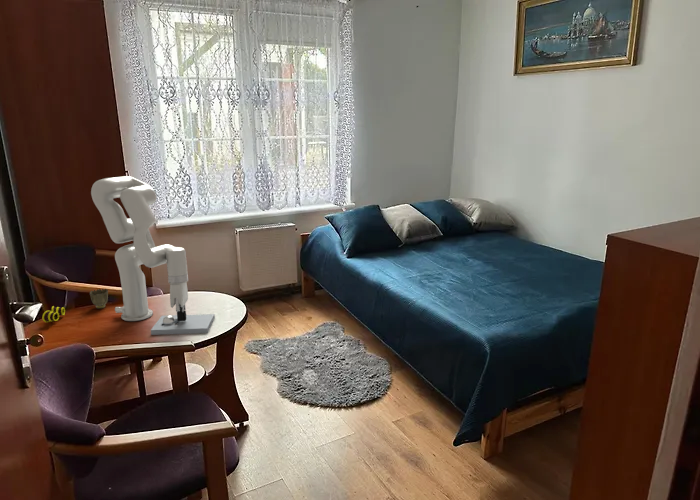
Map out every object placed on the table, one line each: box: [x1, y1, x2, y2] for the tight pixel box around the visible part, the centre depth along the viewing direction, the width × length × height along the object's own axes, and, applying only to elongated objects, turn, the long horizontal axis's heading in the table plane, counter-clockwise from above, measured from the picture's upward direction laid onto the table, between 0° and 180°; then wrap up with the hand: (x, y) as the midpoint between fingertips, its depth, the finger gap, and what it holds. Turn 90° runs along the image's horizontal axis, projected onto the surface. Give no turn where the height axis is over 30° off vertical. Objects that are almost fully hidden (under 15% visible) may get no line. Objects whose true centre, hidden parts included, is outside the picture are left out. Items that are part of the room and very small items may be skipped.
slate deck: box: [150, 313, 216, 336], centre depth 202 cm, size 22×15×2 cm
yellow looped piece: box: [41, 305, 66, 323], centre depth 209 cm, size 10×5×5 cm, turn 5°
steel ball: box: [163, 315, 176, 325], centre depth 201 cm, size 5×5×5 cm
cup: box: [89, 288, 109, 310], centre depth 221 cm, size 8×7×8 cm
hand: (182, 320), depth 201 cm, fingers closed
